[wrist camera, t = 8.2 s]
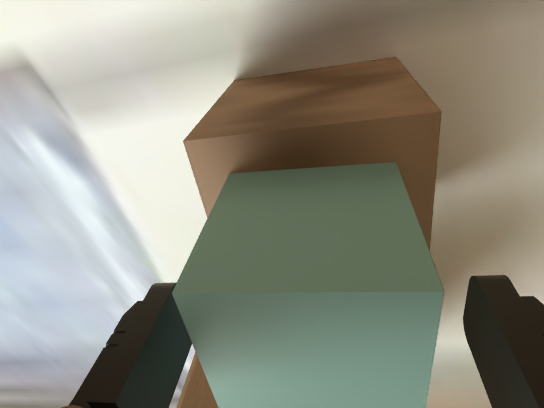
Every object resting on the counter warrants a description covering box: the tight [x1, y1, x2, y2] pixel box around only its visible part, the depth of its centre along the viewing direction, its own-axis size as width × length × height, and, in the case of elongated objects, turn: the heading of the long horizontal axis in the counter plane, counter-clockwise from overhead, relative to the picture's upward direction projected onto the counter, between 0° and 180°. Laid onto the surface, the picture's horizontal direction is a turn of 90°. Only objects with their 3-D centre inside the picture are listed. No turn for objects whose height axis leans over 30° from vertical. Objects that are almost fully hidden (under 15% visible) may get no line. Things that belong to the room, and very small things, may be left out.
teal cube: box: [172, 162, 444, 408], centre depth 11 cm, size 6×6×6 cm
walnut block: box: [183, 57, 441, 251], centre depth 16 cm, size 8×8×8 cm
